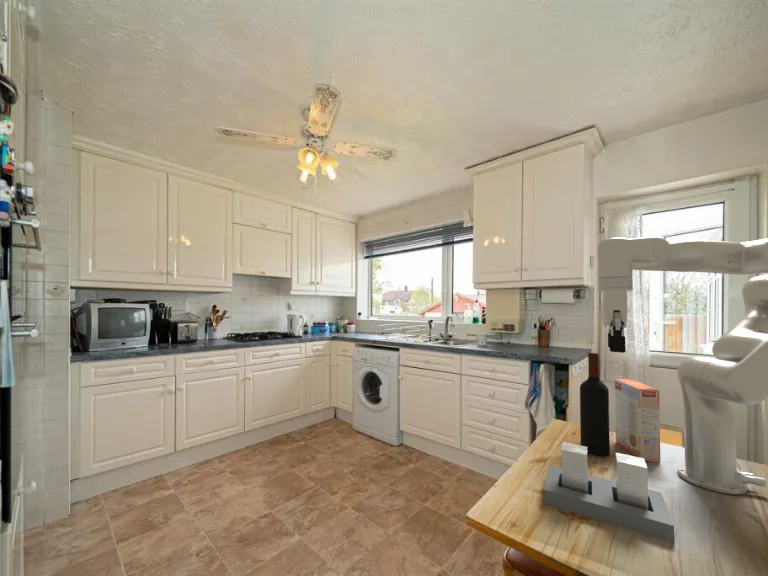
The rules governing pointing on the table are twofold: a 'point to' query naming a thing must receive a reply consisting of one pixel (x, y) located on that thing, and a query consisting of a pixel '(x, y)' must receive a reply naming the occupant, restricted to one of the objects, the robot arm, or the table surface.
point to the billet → (575, 467)
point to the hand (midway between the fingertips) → (616, 349)
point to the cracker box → (638, 419)
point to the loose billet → (631, 481)
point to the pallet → (610, 505)
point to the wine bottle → (594, 411)
